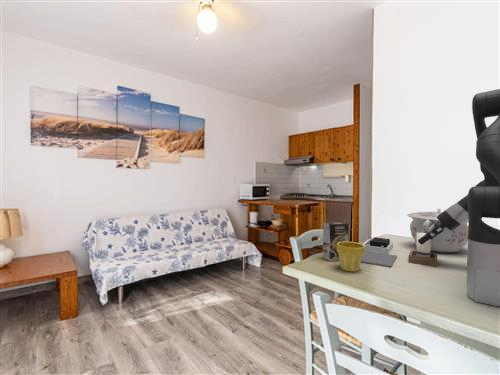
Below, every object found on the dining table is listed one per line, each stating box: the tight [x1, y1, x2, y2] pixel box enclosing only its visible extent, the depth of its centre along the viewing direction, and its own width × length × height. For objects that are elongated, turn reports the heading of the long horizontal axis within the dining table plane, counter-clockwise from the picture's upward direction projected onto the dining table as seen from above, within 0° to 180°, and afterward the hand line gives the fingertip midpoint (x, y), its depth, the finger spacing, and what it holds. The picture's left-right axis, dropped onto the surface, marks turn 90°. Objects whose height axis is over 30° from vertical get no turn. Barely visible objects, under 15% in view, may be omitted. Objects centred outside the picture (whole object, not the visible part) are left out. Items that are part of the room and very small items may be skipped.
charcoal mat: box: [360, 251, 398, 268], centre depth 118 cm, size 18×16×1 cm
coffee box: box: [322, 221, 349, 262], centre depth 118 cm, size 9×6×16 cm
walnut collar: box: [408, 249, 438, 267], centre depth 114 cm, size 10×10×3 cm
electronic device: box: [369, 236, 391, 248], centre depth 134 cm, size 7×11×5 cm
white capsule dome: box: [415, 233, 432, 258], centre depth 114 cm, size 5×5×12 cm
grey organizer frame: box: [362, 238, 394, 255], centre depth 135 cm, size 16×12×2 cm
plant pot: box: [337, 241, 365, 273], centre depth 105 cm, size 10×10×10 cm
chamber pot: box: [407, 208, 469, 254], centre depth 134 cm, size 28×28×21 cm
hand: (419, 240), depth 115 cm, fingers open, 8 cm apart
